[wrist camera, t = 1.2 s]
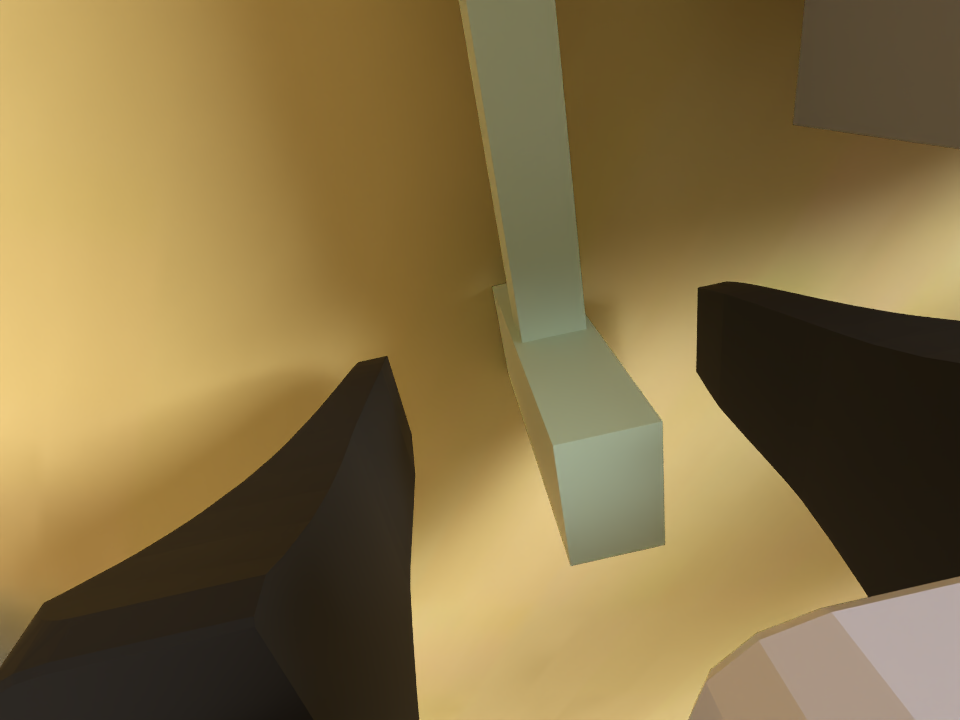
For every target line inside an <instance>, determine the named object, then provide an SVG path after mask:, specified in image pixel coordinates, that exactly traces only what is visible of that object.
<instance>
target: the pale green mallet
mask: <svg viewBox="0 0 960 720" xmlns="http://www.w3.org/2000/svg"><path fill="white" fill-rule="evenodd" d="M459 6H460V12H461V18H462V23H463V29H464V35H465V41H466V47H467V53H468V59H469V65H470V71H471V76H472V82H473V88H474V94H475V100H476V106H477V112H478V118H479V123H480V129H481V135H482V141H483V147H484V153H485V159H486V165H487V170H488V176H489V182H490V188H491V194H492V200H493V206H494V212H495V217H496V223H497V229H498V235H499V241H500V247H501V253H502V259H503V264H504V270H505V276H506V282H507V283H505V284H501V285H496V286H492V289H493V294H494V300H495V305H496V311H497V316H498V321H499V327H500V332H501V338H502V343H503V348H504V354H505V359H506V365H507V370H508V375H509V378H510V381H511V384H512V387H513V390H514V393H515V396H516V399H517V402H518V406H519V409H520V412H521V415H522V418H523V421H524V424H525V427H526V430H527V433H528V436H529V439H530V442H531V445H532V449H533V452H534V455H535V458H536V461H537V464H538V467H539V470H540V473H541V476H542V479H543V482H544V485H545V489H546V492H547V495H548V498H549V501H550V504H551V507H552V510H553V513H554V516H555V519H556V522H557V525H558V529H559V532H560V535H561V538H562V541H563V544H564V547H565V550H566V553H567V556H568V559H569V562H570V565H571V566H573V565H578V564H582V563H587V562H591V561H596V560H600V559H604V558H609V557H613V556H618V555H622V554H627V553H631V552H636V551H640V550H644V549H649V548H653V547H658V546H662V545H665V522H664V471H663V421H662V420H661V419H660V417H659V416H658V414H657V413H656V412H655V410H654V409H653V407H652V406H651V405H650V403H649V402H648V400H647V399H646V398H645V396H644V395H643V394H642V392H641V391H640V389H639V388H638V387H637V385H636V384H635V382H634V381H633V380H632V378H631V377H630V375H629V374H628V373H627V371H626V370H625V369H624V367H623V366H622V364H621V363H620V362H619V360H618V359H617V357H616V356H615V355H614V353H613V352H612V350H611V349H610V348H609V346H608V345H607V344H606V342H605V341H604V339H603V338H602V337H601V335H600V334H599V332H598V331H597V330H596V328H595V327H594V325H593V324H592V323H591V321H590V320H589V319H588V317H587V316H586V314H585V307H584V297H583V286H582V276H581V266H580V255H579V245H578V234H577V224H576V213H575V203H574V193H573V182H572V172H571V161H570V151H569V140H568V130H567V120H566V109H565V99H564V88H563V78H562V67H561V57H560V47H559V36H558V26H557V15H556V5H555V0H459Z"/></svg>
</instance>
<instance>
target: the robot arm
mask: <svg viewBox="0 0 960 720" xmlns="http://www.w3.org/2000/svg"><path fill="white" fill-rule="evenodd" d="M696 372H697V373H698V375H699V376H700V378H701V380H702V381H703V383H704V385H705V386H706V388H707V389H708V391H709V393H710V394H711V395H712V397H713V398H714V400H715V401H716V403H717V404H718V406H719V407H720V408H721V409H722V411H723V412H724V413H725V414H726V415H727V416H728V418H729V419H730V420H731V421H732V422H733V423H734V424H735V425H736V427H737V428H738V429H739V430H740V431H741V432H742V433H743V434H744V436H745V437H746V438H747V439H748V440H749V441H750V442H751V443H752V444H753V445H754V447H755V448H756V449H757V450H758V451H759V452H760V453H761V454H762V455H763V456H764V458H765V459H766V460H767V461H768V462H769V463H770V464H771V465H772V466H773V468H774V469H775V470H776V471H777V472H778V473H779V474H780V475H781V476H782V477H783V479H784V480H785V481H786V482H787V483H788V484H789V485H790V487H791V488H792V489H793V490H794V492H795V493H796V494H797V495H798V496H799V498H800V499H801V500H802V501H803V503H804V504H805V505H806V507H807V508H808V510H809V511H810V512H811V514H812V515H813V517H814V518H815V519H816V521H817V522H818V524H819V525H820V526H821V528H822V529H823V530H824V532H825V533H826V535H827V536H828V537H829V539H830V540H831V542H832V543H833V545H834V546H835V548H836V549H837V551H838V552H839V553H840V555H841V556H842V558H843V559H844V561H845V562H846V564H847V565H848V567H849V568H850V570H851V571H852V573H853V574H854V576H855V577H856V579H857V580H858V582H859V583H860V585H861V586H862V588H863V589H864V591H865V592H866V594H867V596H868V598H863V599H859V600H854V601H850V602H846V603H841V604H837V605H833V606H828V607H824V608H820V609H817V610H814V611H812V612H809V613H807V614H804V615H802V616H799V617H796V618H794V619H791V620H789V621H786V622H784V623H781V624H778V625H776V626H773V627H771V628H768V629H766V630H763V631H760V632H758V633H756V634H755V635H753V636H752V637H751V638H750V639H748V640H747V641H746V642H745V643H743V644H742V645H741V646H740V647H738V648H737V649H736V650H734V651H733V652H732V653H731V654H729V655H728V656H727V657H726V658H724V659H723V660H722V661H721V662H719V663H718V664H717V665H716V666H714V667H713V668H712V669H711V670H710V671H709V674H708V676H707V678H706V680H705V682H704V685H703V687H702V689H701V691H700V693H699V695H698V698H697V700H696V702H695V704H694V706H693V709H692V711H691V714H690V716H689V719H688V720H960V321H957V320H948V319H939V318H930V317H922V316H913V315H906V314H899V313H893V312H887V311H881V310H875V309H870V308H864V307H858V306H853V305H848V304H843V303H838V302H833V301H828V300H823V299H818V298H814V297H809V296H804V295H800V294H795V293H791V292H786V291H782V290H777V289H772V288H767V287H763V286H757V285H752V284H746V283H739V282H722V283H717V284H713V285H708V286H704V287H699V288H698V308H697V362H696ZM414 488H415V467H414V455H413V444H412V434H411V431H410V428H409V425H408V421H407V418H406V415H405V412H404V408H403V405H402V402H401V399H400V396H399V392H398V389H397V386H396V383H395V379H394V376H393V373H392V370H391V367H390V363H389V360H388V357H387V356H385V357H380V358H376V359H371V360H367V361H362V362H358V363H357V364H356V365H355V366H354V367H353V369H352V370H351V371H350V372H349V373H348V374H347V376H346V377H345V378H344V379H343V381H342V382H341V383H340V384H339V385H338V387H337V388H336V389H335V390H334V392H333V393H332V394H331V395H330V396H329V397H328V399H327V400H326V401H325V402H324V403H323V405H322V406H321V407H320V408H319V409H318V411H317V412H316V413H315V414H314V415H313V416H312V417H311V418H310V419H309V420H308V421H307V422H306V423H305V425H304V426H303V427H302V428H301V429H300V430H299V431H298V432H297V433H296V434H295V435H294V436H293V437H292V438H291V439H290V440H289V441H288V443H286V444H285V445H284V446H283V447H282V448H281V449H280V450H279V451H278V452H277V453H276V454H275V455H274V456H273V457H272V458H271V459H269V460H268V461H267V462H266V463H265V464H264V465H262V466H261V467H260V468H259V469H258V470H257V471H256V472H254V473H253V474H252V475H251V476H250V477H248V478H247V479H246V480H245V481H243V482H242V483H241V484H240V485H238V486H237V487H235V488H234V489H233V490H231V491H230V492H229V493H227V494H226V495H225V496H223V497H222V498H221V499H219V500H218V501H217V502H215V503H214V504H212V505H211V506H210V507H208V508H207V509H206V510H204V511H203V512H202V513H200V514H199V515H197V516H196V517H194V518H193V519H191V520H190V521H188V522H187V523H185V524H184V525H182V526H181V527H179V528H178V529H176V530H174V531H173V532H171V533H170V534H168V535H167V536H165V537H163V538H162V539H160V540H158V541H157V542H155V543H153V544H152V545H150V546H148V547H147V548H145V549H144V550H142V551H140V552H138V553H137V554H135V555H133V556H131V557H130V558H128V559H126V560H125V561H123V562H121V563H119V564H117V565H115V566H113V567H112V568H110V569H108V570H106V571H104V572H102V573H100V574H98V575H97V576H95V577H93V578H91V579H89V580H87V581H85V582H83V583H82V584H80V585H78V586H76V587H74V588H72V589H70V590H68V591H67V592H65V593H63V594H61V595H59V596H57V597H55V598H53V599H51V600H49V601H47V602H45V603H44V604H43V605H42V606H41V608H40V609H39V611H38V612H37V614H36V615H35V617H34V618H33V620H32V621H31V623H30V624H29V626H28V627H27V628H26V630H25V631H24V633H23V634H22V636H21V637H20V639H19V640H18V642H17V643H16V645H15V646H14V648H13V649H12V651H11V652H10V654H9V655H8V657H7V658H6V660H5V661H4V662H3V664H2V665H1V667H0V720H419V712H418V700H417V688H416V673H415V659H414V644H413V628H412V610H411V592H410V565H411V546H412V527H413V509H414Z"/></svg>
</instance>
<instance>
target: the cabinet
mask: <svg viewBox="0 0 960 720" xmlns="http://www.w3.org/2000/svg"><path fill="white" fill-rule="evenodd" d="M793 125H798V126H805V127H811V128H818V129H825V130H832V131H839V132H846V133H853V134H860V135H867V136H874V137H880V138H887V139H894V140H901V141H908V142H915V143H922V144H929V145H936V146H943V147H949V148H956V149H960V0H805V5H804V15H803V26H802V36H801V46H800V57H799V67H798V77H797V88H796V98H795V108H794V118H793Z"/></svg>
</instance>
